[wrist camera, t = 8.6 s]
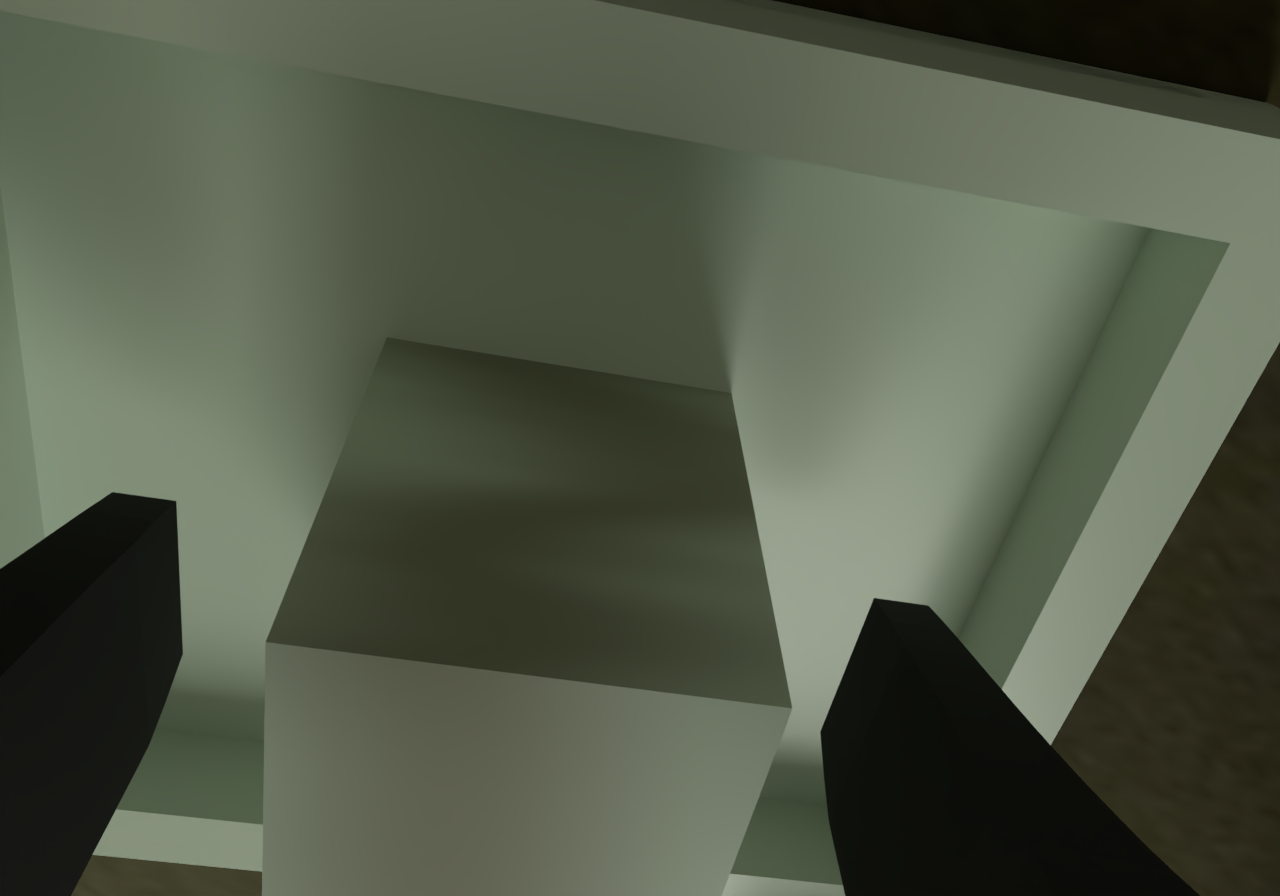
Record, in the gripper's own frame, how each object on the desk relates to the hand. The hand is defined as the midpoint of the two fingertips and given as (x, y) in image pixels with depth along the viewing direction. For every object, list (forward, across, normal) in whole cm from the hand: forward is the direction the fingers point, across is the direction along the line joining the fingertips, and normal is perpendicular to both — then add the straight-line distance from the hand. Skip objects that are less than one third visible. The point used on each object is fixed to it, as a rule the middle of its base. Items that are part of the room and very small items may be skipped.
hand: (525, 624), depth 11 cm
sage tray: (+3, 0, 0) cm, 3 cm away
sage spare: (+2, 0, 0) cm, 2 cm away
